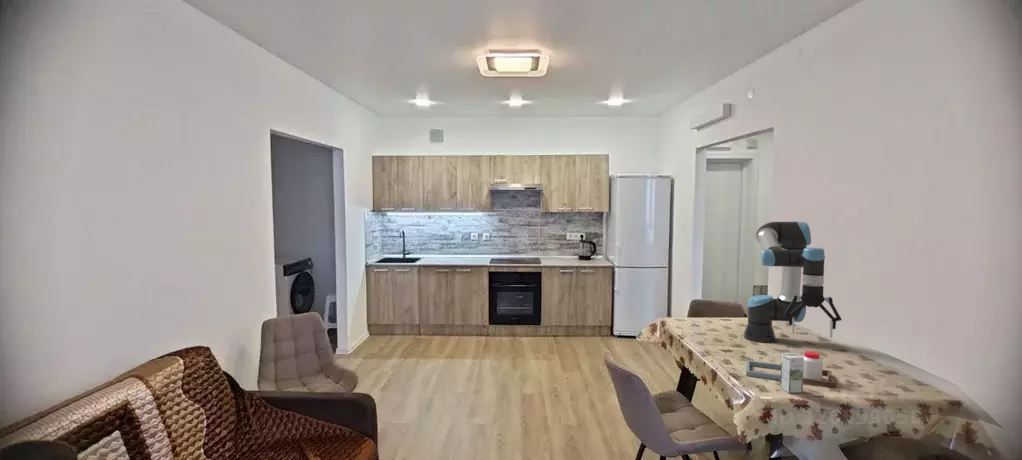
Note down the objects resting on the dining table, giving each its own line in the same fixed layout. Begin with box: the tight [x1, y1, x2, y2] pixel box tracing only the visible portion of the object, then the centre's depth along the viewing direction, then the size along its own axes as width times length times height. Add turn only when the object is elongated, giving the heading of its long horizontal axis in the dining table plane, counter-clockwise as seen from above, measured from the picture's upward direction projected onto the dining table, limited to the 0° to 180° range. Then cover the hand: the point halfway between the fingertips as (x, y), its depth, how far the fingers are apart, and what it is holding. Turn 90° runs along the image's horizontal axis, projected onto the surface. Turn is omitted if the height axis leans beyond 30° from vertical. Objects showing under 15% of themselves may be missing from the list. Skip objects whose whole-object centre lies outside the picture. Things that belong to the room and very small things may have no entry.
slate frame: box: [745, 359, 781, 381], centre depth 211 cm, size 15×15×2 cm
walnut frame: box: [803, 369, 837, 389], centre depth 204 cm, size 15×15×2 cm
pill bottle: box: [801, 350, 824, 380], centre depth 203 cm, size 8×8×11 cm
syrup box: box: [779, 352, 804, 394], centre depth 191 cm, size 6×6×14 cm
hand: (811, 334), depth 203 cm, fingers open, 13 cm apart
